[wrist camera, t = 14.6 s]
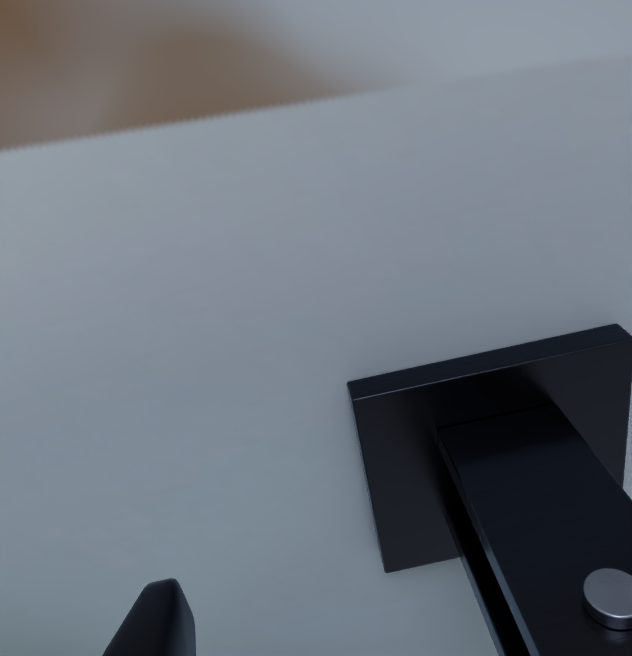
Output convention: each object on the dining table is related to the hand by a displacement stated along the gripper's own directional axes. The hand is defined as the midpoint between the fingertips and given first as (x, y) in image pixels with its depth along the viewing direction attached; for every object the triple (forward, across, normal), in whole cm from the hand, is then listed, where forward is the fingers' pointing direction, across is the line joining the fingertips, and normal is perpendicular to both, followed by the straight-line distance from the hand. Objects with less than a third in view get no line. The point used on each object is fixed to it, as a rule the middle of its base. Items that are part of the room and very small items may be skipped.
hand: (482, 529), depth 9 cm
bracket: (+12, -4, +10) cm, 16 cm away
